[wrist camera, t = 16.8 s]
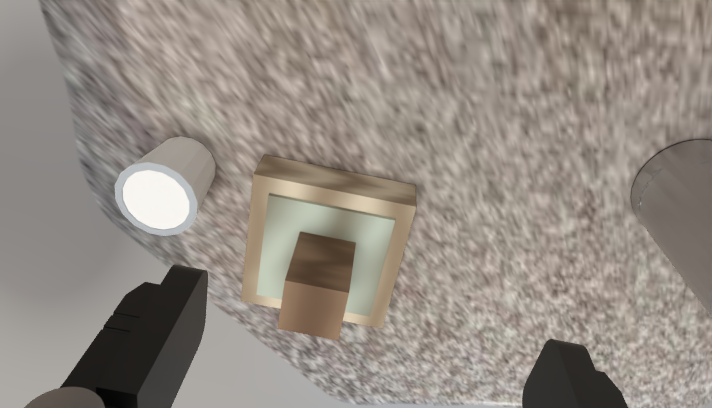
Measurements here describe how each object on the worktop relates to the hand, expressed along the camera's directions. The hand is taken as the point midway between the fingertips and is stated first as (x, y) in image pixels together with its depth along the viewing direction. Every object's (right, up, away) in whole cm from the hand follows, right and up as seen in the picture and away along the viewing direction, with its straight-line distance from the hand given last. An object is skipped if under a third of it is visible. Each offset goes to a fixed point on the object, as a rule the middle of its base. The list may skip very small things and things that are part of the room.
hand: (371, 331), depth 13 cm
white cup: (-16, +7, +37) cm, 41 cm away
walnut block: (-3, -2, +36) cm, 36 cm away
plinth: (-3, 0, +39) cm, 40 cm away
